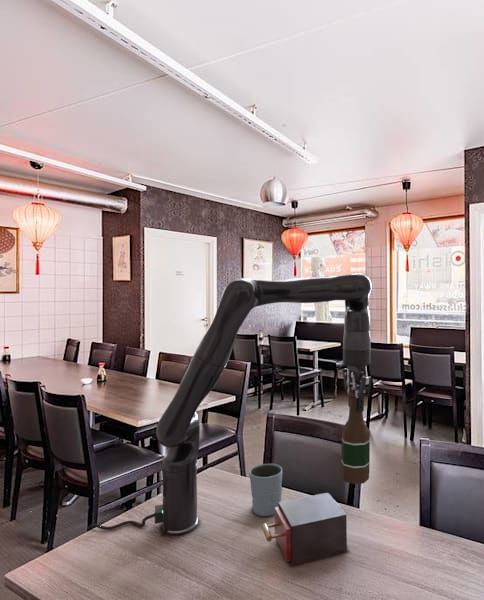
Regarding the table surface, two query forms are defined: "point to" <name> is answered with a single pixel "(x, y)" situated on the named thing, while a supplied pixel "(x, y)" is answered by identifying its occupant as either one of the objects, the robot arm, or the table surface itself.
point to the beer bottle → (355, 447)
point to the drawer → (280, 533)
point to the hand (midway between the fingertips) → (355, 409)
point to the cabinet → (315, 527)
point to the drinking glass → (266, 488)
